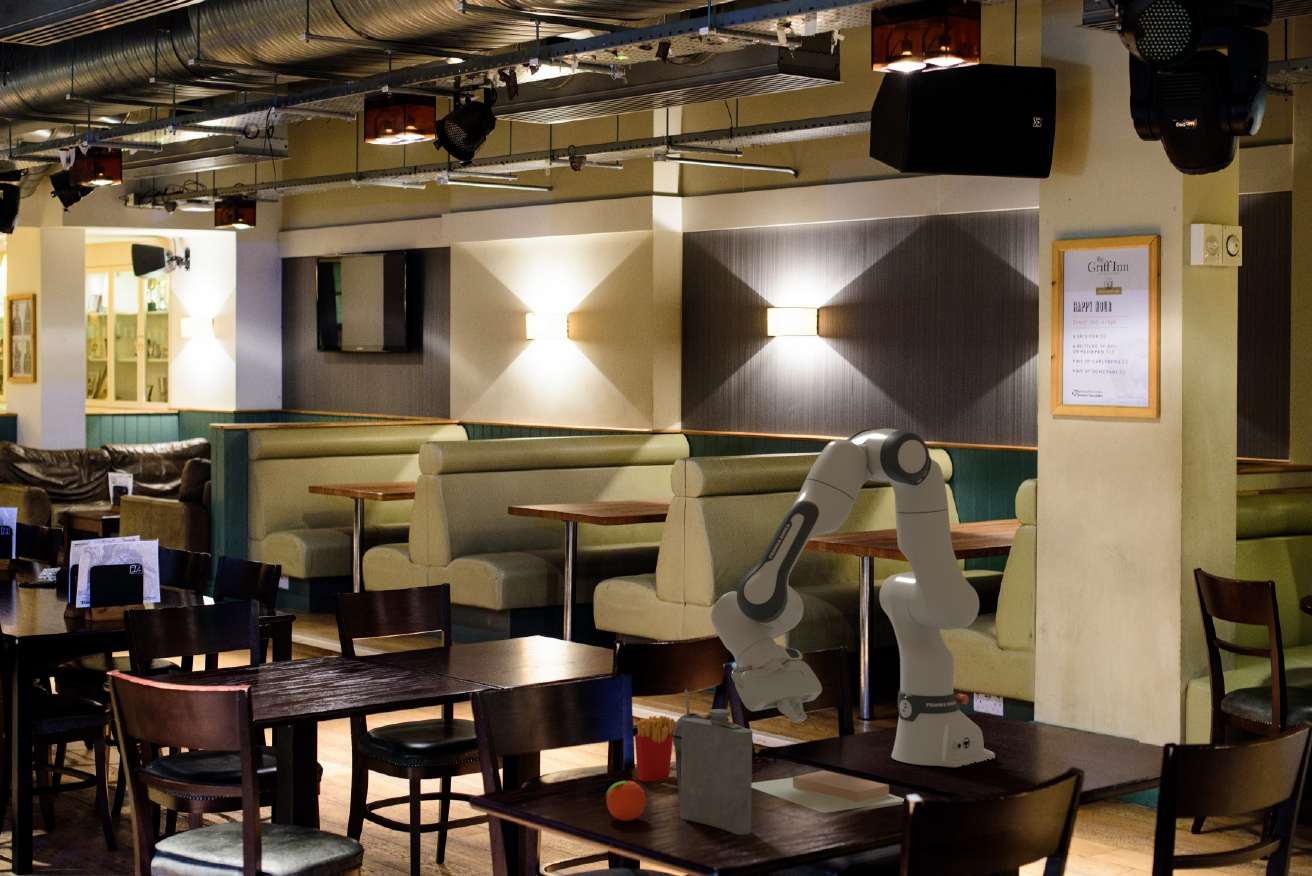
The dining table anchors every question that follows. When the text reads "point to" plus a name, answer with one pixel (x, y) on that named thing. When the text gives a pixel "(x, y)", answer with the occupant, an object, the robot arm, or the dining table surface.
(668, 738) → the french fries
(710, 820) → the hip flask
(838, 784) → the tile
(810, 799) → the mat
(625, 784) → the clementine
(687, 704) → the beverage cup
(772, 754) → the dining table surface
